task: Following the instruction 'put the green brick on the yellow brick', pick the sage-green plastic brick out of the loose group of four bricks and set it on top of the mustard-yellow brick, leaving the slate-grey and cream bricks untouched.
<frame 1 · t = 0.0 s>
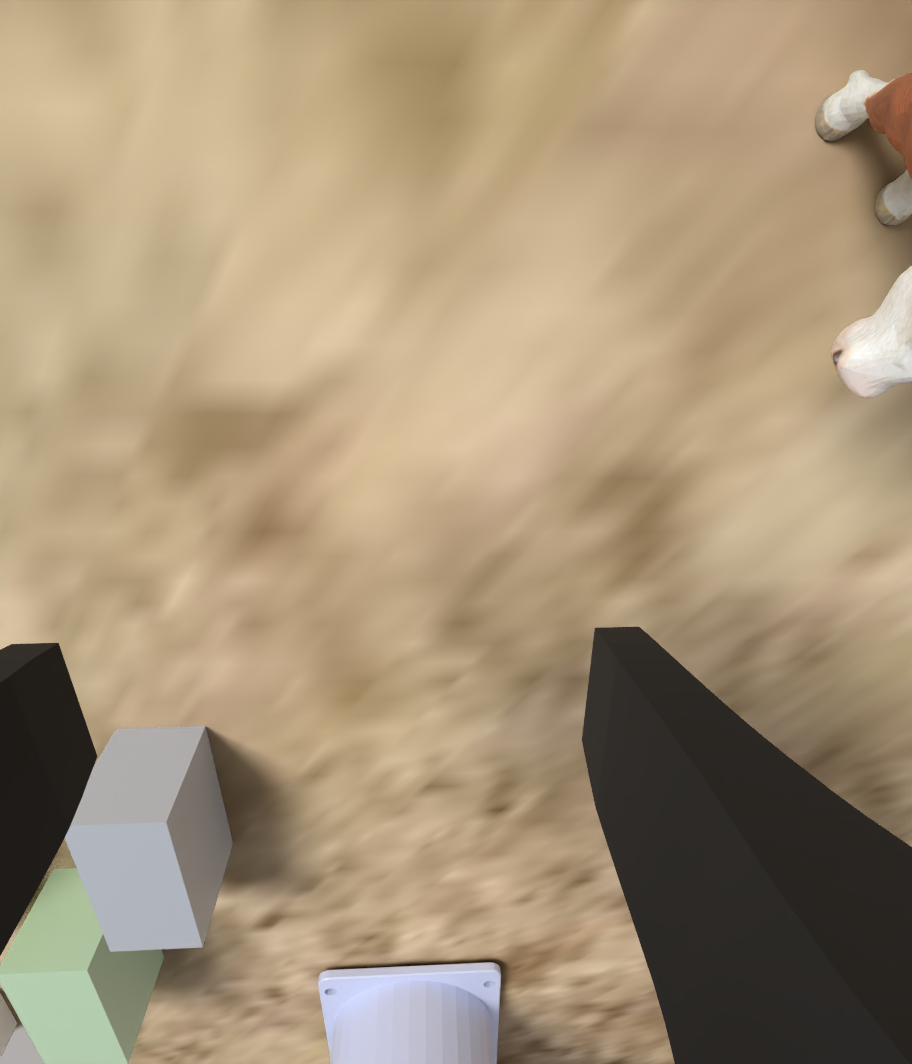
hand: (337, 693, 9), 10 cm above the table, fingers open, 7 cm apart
bull figurine: (899, 48, 15), on the table
grey brick: (179, 787, 24), on the table
green brick: (112, 912, 27), on the table
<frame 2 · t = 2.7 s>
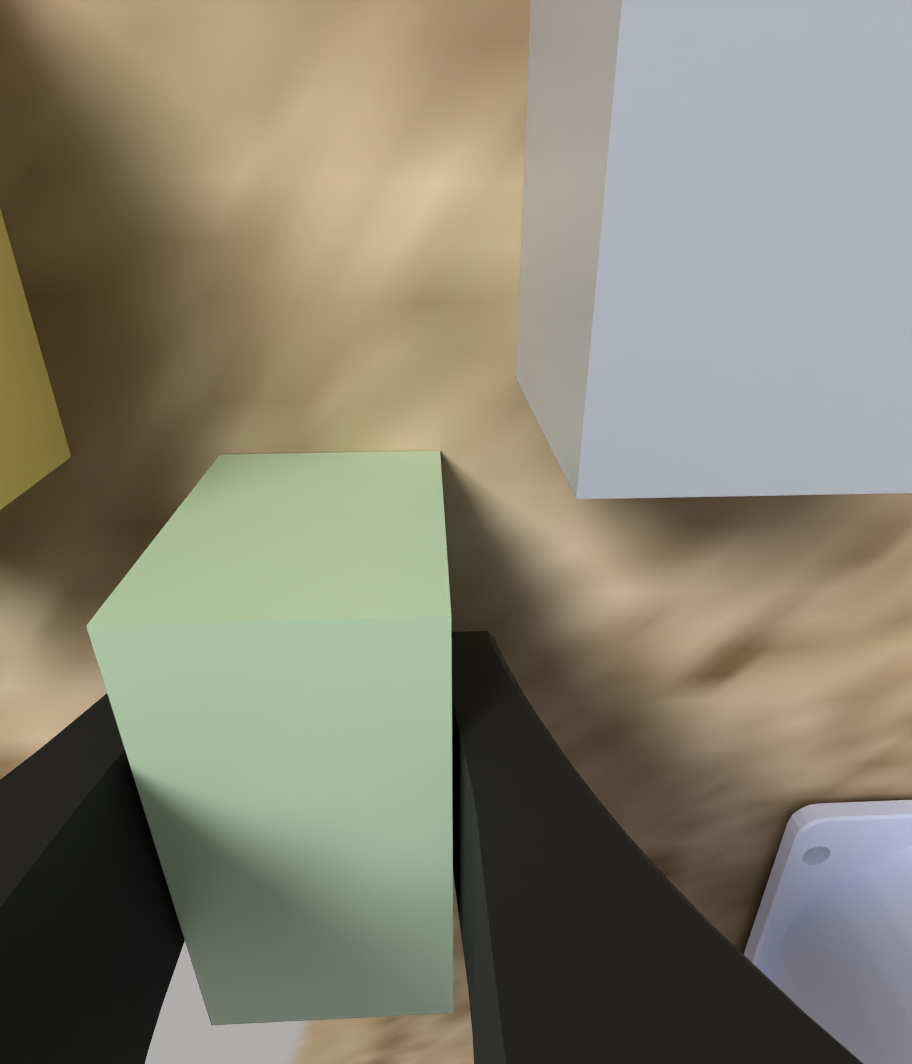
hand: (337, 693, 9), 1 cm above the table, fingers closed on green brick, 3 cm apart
grey brick: (656, 109, 7), on the table
green brick: (347, 632, 10), on the table, touching gripper
when the fingers open (6 cm above the table, at t = 4.9 s): green brick stays where it is, resting on mustard brick.
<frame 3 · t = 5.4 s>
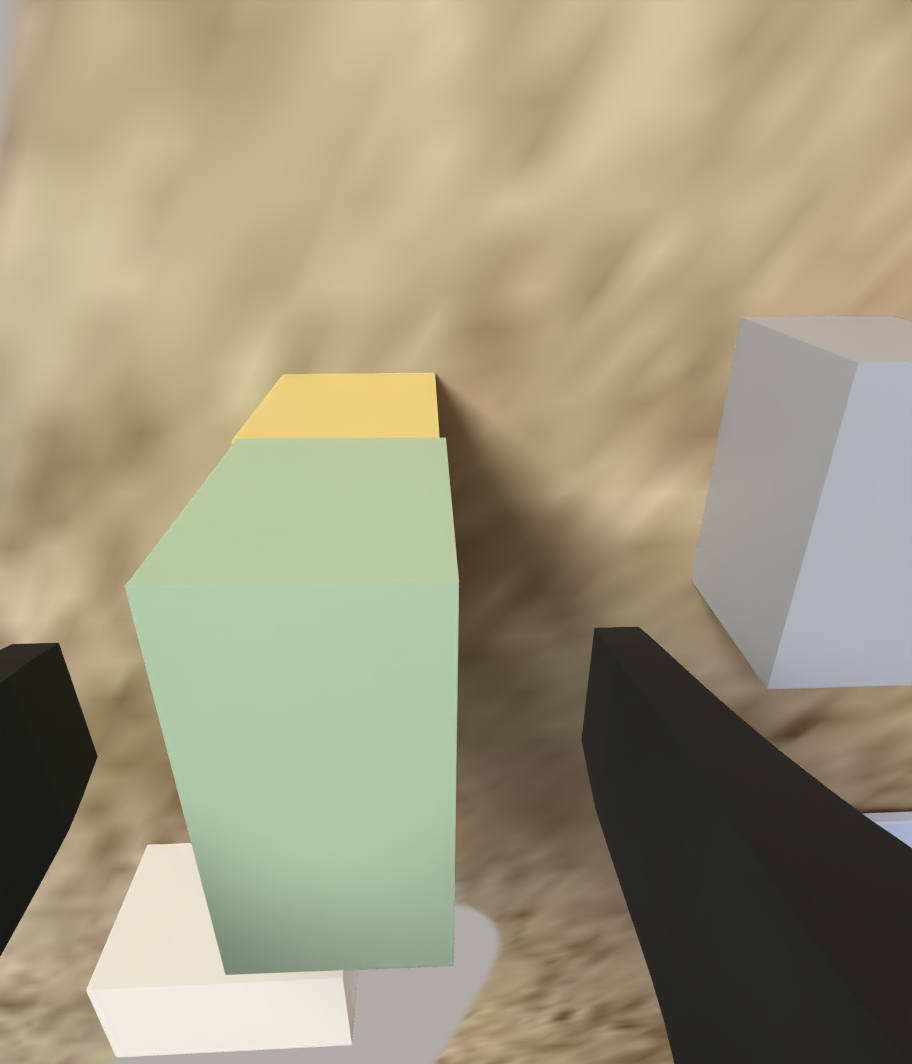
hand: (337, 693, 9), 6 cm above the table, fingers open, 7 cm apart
mustard brick: (368, 509, 14), on the table, touching green brick
grey brick: (779, 458, 14), on the table
cream brick: (260, 871, 20), on the table
green brick: (354, 611, 11), point 4 cm above the table, touching mustard brick
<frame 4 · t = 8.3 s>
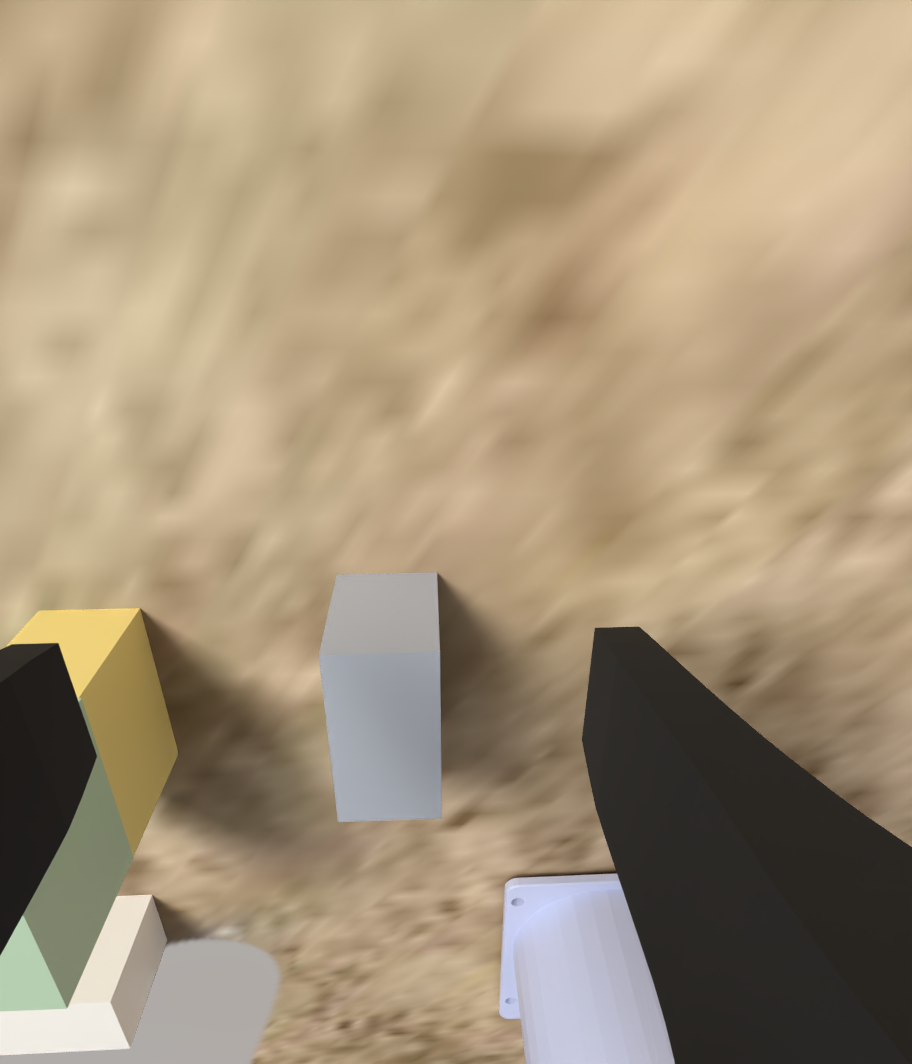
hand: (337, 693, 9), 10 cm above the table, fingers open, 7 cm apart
mustard brick: (113, 686, 21), on the table, touching green brick
grey brick: (391, 651, 21), on the table
cream brick: (85, 919, 27), on the table
green brick: (52, 785, 18), point 4 cm above the table, touching mustard brick
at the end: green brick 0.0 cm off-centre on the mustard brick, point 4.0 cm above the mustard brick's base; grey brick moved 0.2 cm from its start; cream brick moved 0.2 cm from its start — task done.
